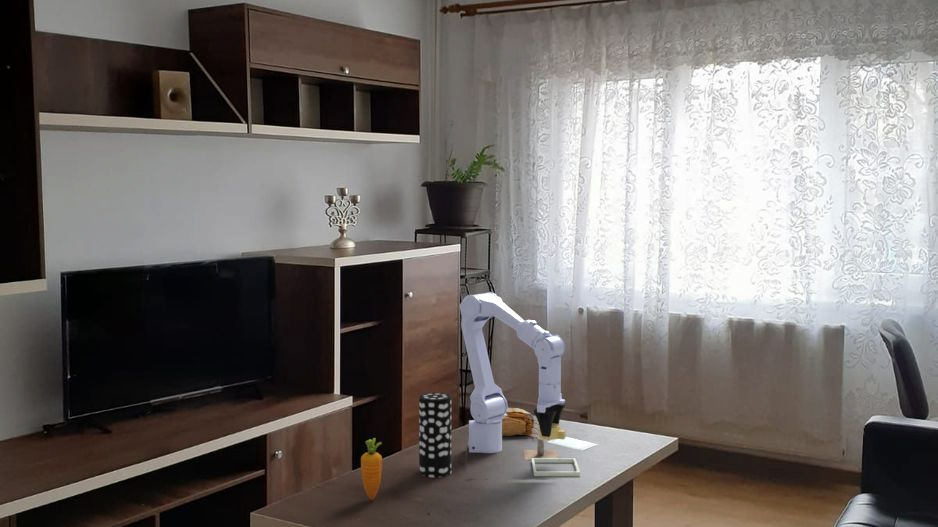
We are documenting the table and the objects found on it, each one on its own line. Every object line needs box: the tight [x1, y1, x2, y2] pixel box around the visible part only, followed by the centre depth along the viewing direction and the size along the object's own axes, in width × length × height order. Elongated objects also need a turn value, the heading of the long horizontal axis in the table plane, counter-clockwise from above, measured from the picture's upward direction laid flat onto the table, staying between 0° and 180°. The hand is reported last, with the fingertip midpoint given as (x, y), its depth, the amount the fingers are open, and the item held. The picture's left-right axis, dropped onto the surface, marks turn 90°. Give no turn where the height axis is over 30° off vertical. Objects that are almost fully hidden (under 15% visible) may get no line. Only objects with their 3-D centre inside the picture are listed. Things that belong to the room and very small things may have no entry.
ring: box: [537, 423, 566, 441], centre depth 243 cm, size 5×7×3 cm
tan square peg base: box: [522, 437, 559, 461], centre depth 252 cm, size 9×9×5 cm
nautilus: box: [502, 407, 539, 440], centre depth 273 cm, size 8×22×15 cm
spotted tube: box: [418, 392, 453, 478], centre depth 239 cm, size 8×8×20 cm
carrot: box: [360, 437, 383, 501], centre depth 219 cm, size 5×5×15 cm
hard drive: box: [546, 436, 599, 452], centre depth 263 cm, size 2×8×12 cm
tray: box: [531, 457, 581, 477], centre depth 241 cm, size 12×12×2 cm
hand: (549, 433), depth 244 cm, fingers closed on ring, 5 cm apart
